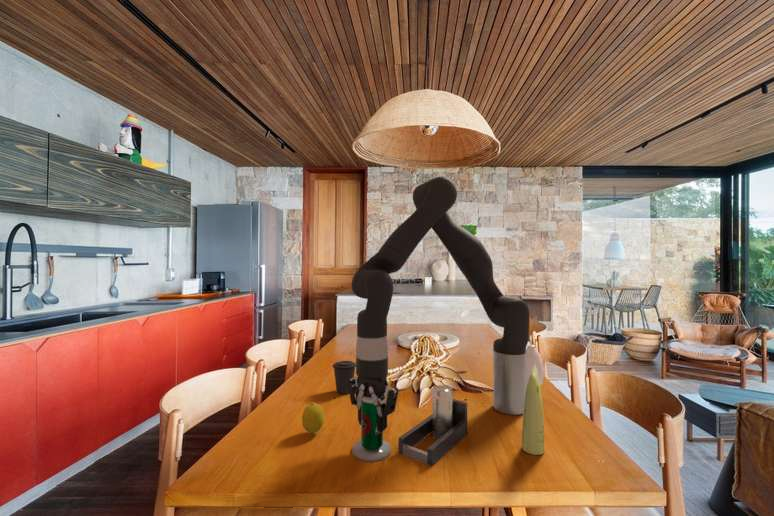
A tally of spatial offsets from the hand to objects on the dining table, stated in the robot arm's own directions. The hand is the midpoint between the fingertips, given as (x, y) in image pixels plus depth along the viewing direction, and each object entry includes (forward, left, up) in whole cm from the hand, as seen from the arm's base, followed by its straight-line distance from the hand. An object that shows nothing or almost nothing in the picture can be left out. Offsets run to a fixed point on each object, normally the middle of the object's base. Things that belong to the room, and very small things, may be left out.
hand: (372, 426), depth 83 cm
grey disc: (0, 0, -5) cm, 5 cm away
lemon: (+3, -17, -6) cm, 18 cm away
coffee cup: (-23, -31, -6) cm, 39 cm away
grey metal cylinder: (-16, +10, -5) cm, 20 cm away
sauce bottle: (-63, +19, -6) cm, 66 cm away
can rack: (-12, +10, -5) cm, 16 cm away
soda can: (0, 0, -5) cm, 5 cm away
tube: (-23, +30, -6) cm, 38 cm away
